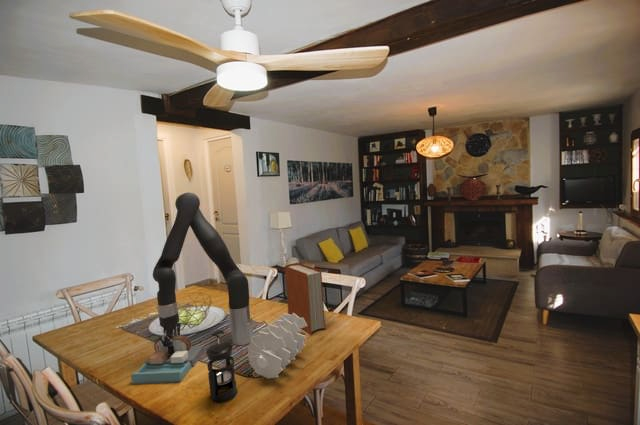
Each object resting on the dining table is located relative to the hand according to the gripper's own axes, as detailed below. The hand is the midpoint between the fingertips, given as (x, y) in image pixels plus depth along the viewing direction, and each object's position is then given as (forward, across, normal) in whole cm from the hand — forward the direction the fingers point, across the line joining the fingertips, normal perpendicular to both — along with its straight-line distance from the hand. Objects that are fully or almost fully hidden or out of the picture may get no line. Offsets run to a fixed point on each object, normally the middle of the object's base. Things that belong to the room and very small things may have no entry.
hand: (173, 351), depth 142 cm
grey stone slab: (+5, -1, 0) cm, 5 cm away
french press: (+5, +23, +29) cm, 38 cm away
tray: (+5, +10, 0) cm, 11 cm away
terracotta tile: (+2, +4, -4) cm, 6 cm away
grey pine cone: (+5, +5, +46) cm, 47 cm away
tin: (+2, 0, 0) cm, 2 cm away
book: (+5, -31, +54) cm, 62 cm away
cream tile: (+2, +4, +4) cm, 6 cm away
